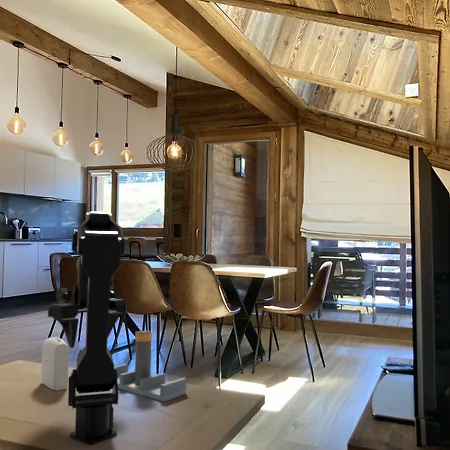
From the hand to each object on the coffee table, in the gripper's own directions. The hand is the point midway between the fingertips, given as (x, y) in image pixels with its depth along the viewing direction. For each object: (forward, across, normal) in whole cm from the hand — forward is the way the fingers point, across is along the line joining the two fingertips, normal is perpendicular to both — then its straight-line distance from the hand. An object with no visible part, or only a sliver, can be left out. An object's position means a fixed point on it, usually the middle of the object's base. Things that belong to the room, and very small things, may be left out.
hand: (88, 344), depth 112 cm
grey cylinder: (+12, -15, +3) cm, 19 cm away
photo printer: (+13, -2, -16) cm, 21 cm away
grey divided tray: (+13, -15, +3) cm, 20 cm away
